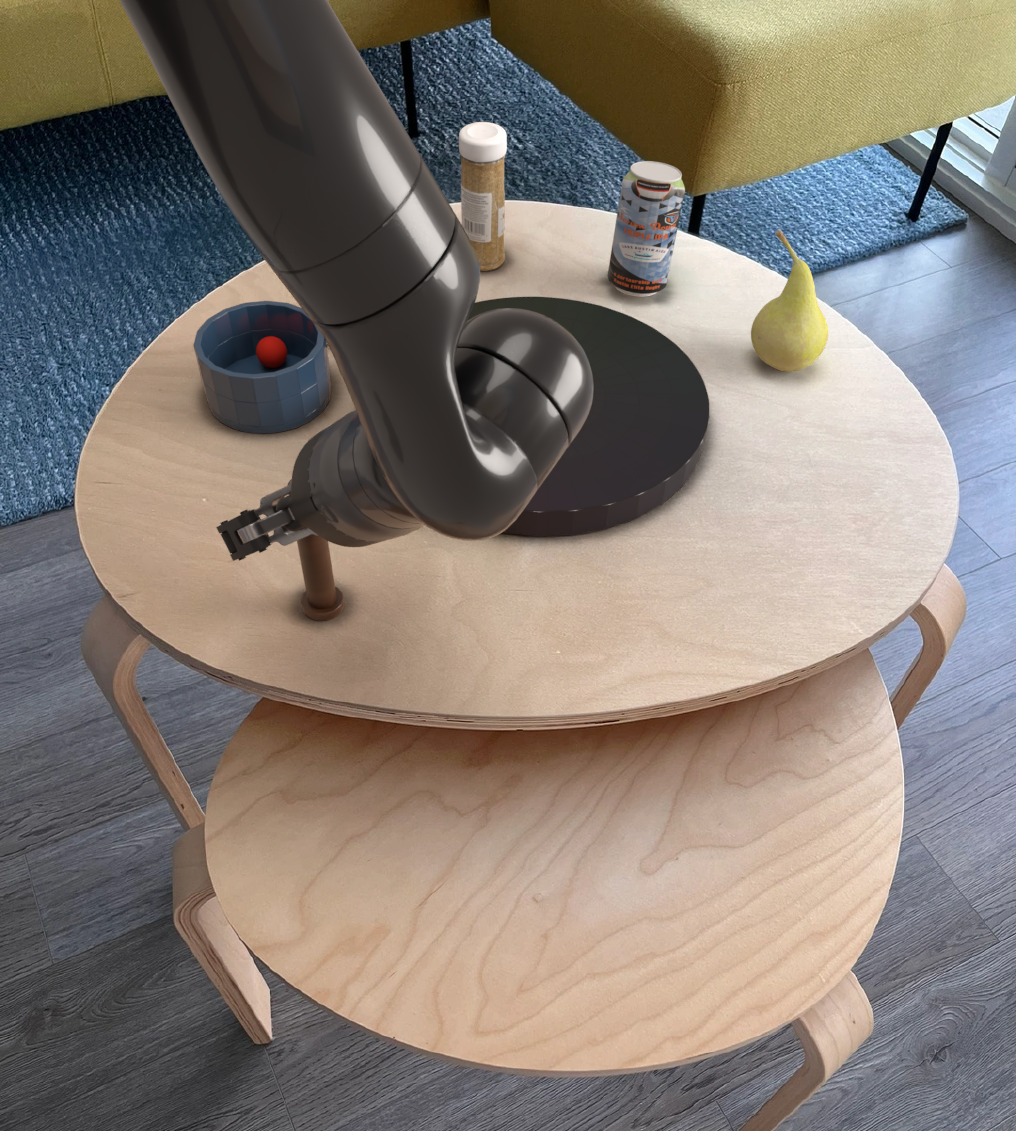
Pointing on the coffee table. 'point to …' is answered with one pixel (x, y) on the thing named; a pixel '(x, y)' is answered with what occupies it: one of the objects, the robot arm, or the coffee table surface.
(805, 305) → the fruit
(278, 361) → the red ball
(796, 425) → the coffee table surface
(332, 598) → the stick
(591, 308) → the disc
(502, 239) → the spice jar
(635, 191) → the beverage can
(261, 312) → the bowl
